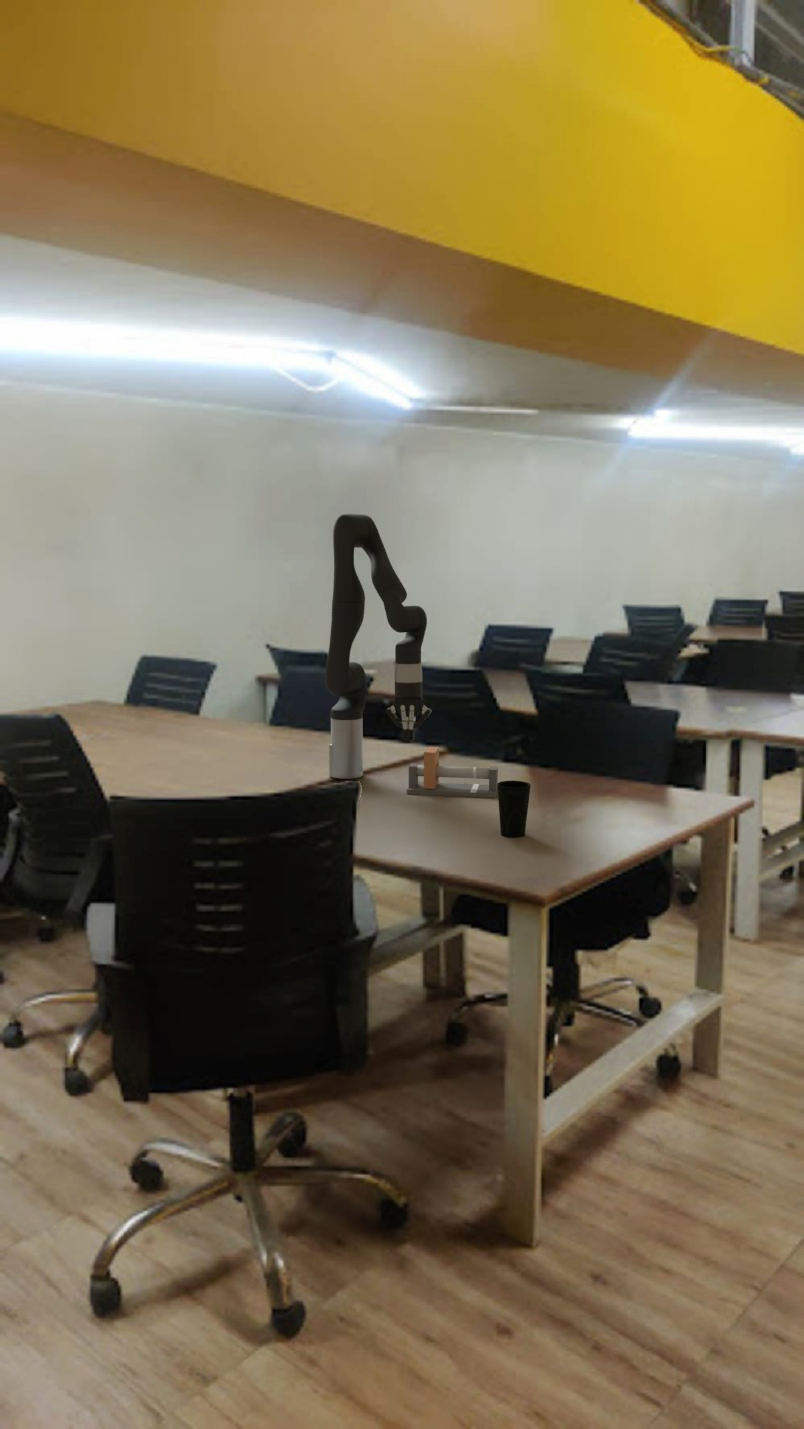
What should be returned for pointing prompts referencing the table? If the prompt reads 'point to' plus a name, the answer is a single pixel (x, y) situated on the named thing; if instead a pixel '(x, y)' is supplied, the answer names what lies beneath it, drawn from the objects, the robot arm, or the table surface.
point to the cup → (513, 807)
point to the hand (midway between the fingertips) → (408, 742)
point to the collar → (431, 767)
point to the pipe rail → (455, 788)
